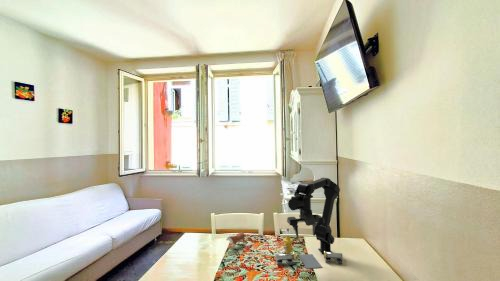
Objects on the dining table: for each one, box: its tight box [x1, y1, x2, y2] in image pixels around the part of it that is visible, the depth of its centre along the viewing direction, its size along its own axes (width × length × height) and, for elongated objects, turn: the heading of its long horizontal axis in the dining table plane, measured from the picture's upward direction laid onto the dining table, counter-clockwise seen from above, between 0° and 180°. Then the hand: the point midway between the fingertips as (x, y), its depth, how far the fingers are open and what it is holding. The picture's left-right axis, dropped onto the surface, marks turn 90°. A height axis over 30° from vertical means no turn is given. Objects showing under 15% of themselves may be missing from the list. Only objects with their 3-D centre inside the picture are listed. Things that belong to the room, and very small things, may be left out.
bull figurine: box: [225, 231, 245, 250], centre depth 144 cm, size 4×13×8 cm, turn 133°
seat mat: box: [298, 253, 323, 270], centre depth 125 cm, size 14×8×1 cm, turn 6°
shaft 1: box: [275, 252, 297, 266], centre depth 124 cm, size 10×4×5 cm, turn 96°
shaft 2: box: [323, 251, 343, 265], centre depth 125 cm, size 9×4×5 cm, turn 76°
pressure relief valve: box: [276, 234, 294, 254], centre depth 131 cm, size 6×12×10 cm, turn 135°
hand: (305, 236), depth 125 cm, fingers open, 9 cm apart
